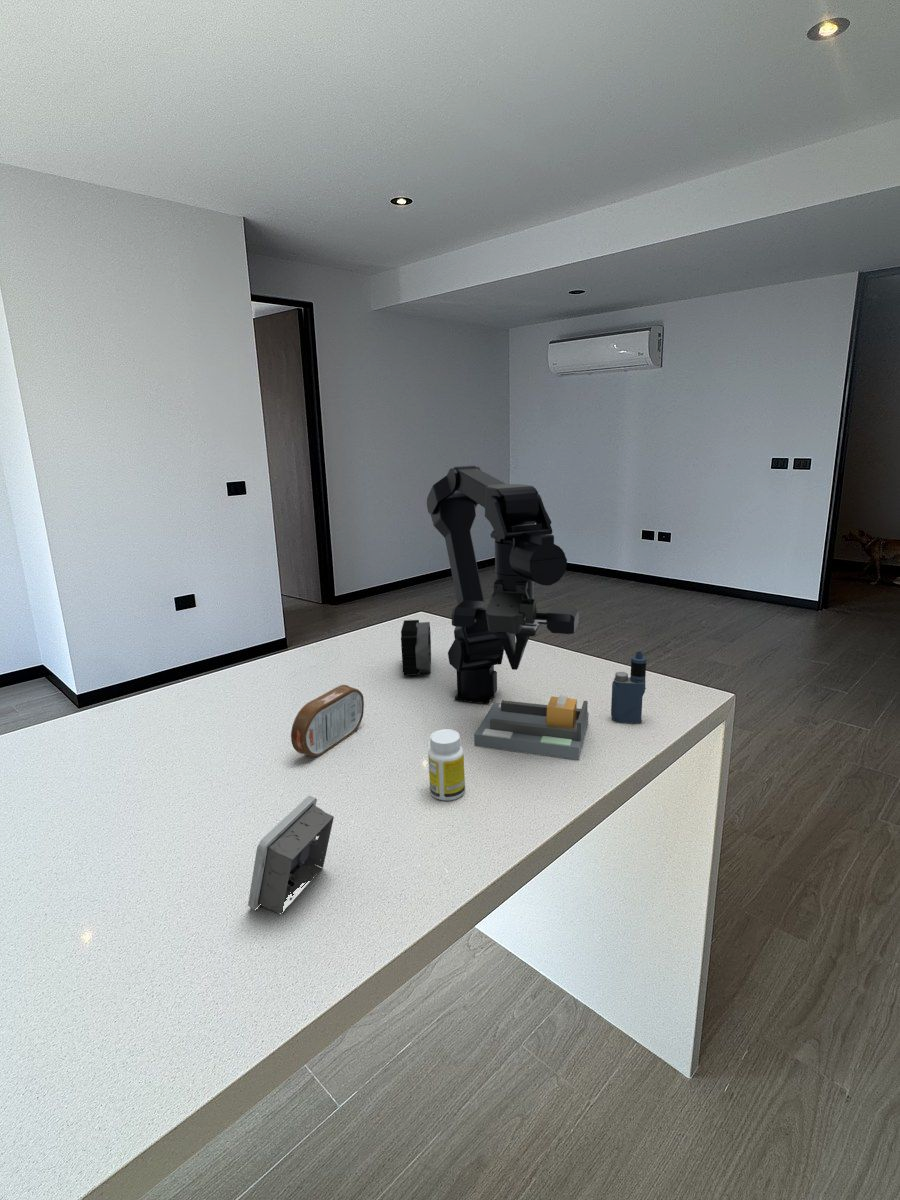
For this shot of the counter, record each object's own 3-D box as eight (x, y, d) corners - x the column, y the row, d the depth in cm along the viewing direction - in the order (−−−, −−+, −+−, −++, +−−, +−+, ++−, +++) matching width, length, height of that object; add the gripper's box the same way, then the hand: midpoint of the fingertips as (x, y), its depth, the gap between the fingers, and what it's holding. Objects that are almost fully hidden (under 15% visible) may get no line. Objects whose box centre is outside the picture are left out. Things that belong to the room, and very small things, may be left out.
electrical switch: (299, 856, 74) (298, 788, 71) (337, 870, 72) (338, 801, 69) (246, 912, 66) (242, 838, 63) (288, 930, 64) (286, 854, 61)
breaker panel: (474, 746, 98) (473, 716, 96) (494, 712, 108) (493, 686, 107) (578, 760, 92) (579, 729, 91) (588, 723, 103) (589, 695, 102)
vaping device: (644, 724, 103) (648, 655, 99) (611, 722, 104) (613, 654, 100) (642, 717, 105) (646, 650, 102) (610, 715, 106) (613, 648, 103)
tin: (354, 722, 107) (350, 676, 105) (369, 726, 105) (365, 679, 103) (291, 763, 94) (286, 712, 92) (307, 768, 93) (302, 716, 91)
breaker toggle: (546, 730, 97) (546, 703, 96) (551, 719, 101) (551, 692, 100) (572, 733, 96) (573, 706, 95) (576, 722, 100) (576, 695, 98)
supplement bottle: (469, 785, 87) (467, 730, 85) (458, 804, 83) (456, 746, 81) (436, 779, 89) (434, 725, 86) (424, 798, 84) (422, 742, 82)
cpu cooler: (430, 680, 123) (428, 631, 121) (401, 680, 123) (398, 631, 121) (432, 661, 133) (430, 615, 131) (405, 661, 133) (403, 616, 131)
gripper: (437, 581, 90) (441, 682, 94) (569, 587, 84) (567, 695, 88) (461, 565, 100) (464, 657, 104) (580, 569, 94) (578, 667, 98)
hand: (515, 668), depth 98 cm, fingers closed
